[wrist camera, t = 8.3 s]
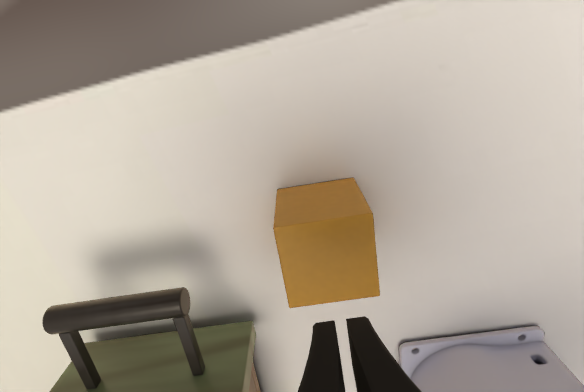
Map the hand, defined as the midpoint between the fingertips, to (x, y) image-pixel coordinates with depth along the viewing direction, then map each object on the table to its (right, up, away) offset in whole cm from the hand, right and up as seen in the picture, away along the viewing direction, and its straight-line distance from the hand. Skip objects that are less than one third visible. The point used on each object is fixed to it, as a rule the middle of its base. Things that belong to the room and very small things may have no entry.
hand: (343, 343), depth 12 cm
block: (0, +4, +9) cm, 10 cm away
